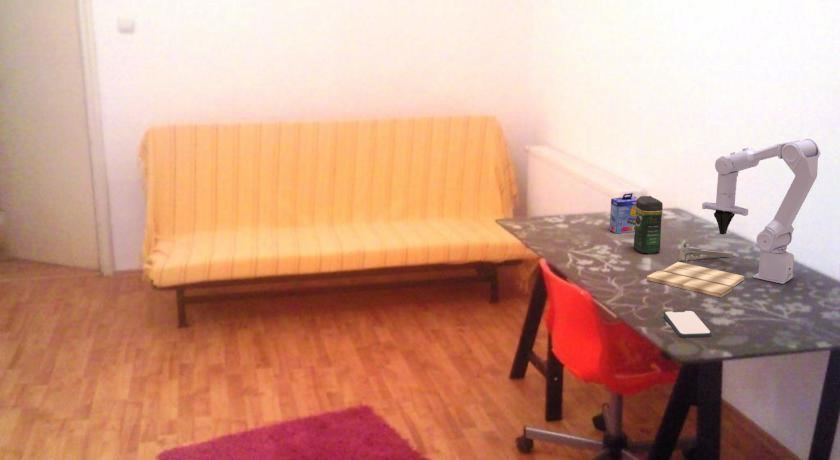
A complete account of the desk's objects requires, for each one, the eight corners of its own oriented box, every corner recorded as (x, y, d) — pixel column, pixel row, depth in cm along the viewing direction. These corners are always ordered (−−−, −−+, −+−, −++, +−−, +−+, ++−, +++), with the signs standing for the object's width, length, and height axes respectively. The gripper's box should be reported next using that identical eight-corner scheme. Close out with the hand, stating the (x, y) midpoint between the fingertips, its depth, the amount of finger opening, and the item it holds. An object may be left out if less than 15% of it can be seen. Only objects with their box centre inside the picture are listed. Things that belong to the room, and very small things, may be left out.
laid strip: (732, 290, 265) (732, 286, 264) (720, 297, 259) (721, 293, 259) (659, 273, 280) (659, 269, 280) (646, 280, 275) (646, 276, 274)
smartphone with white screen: (713, 339, 232) (693, 315, 247) (713, 333, 231) (693, 310, 247) (679, 340, 232) (661, 316, 247) (680, 334, 231) (662, 311, 246)
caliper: (680, 263, 291) (681, 244, 289) (678, 261, 292) (680, 243, 290) (736, 257, 295) (737, 239, 294) (734, 256, 296) (736, 238, 295)
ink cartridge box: (616, 234, 323) (617, 195, 319) (608, 230, 328) (610, 192, 324) (640, 231, 326) (642, 193, 322) (632, 227, 331) (634, 189, 327)
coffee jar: (663, 253, 300) (666, 200, 294) (640, 255, 299) (643, 201, 294) (652, 245, 309) (655, 193, 304) (630, 246, 308) (633, 194, 303)
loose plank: (744, 279, 273) (744, 275, 272) (729, 289, 266) (730, 285, 265) (677, 265, 287) (677, 261, 287) (662, 273, 280) (662, 270, 280)
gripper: (753, 193, 281) (750, 234, 285) (710, 187, 291) (707, 226, 294) (744, 197, 276) (740, 239, 280) (700, 191, 286) (697, 231, 289)
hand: (722, 233), depth 287 cm, fingers closed
